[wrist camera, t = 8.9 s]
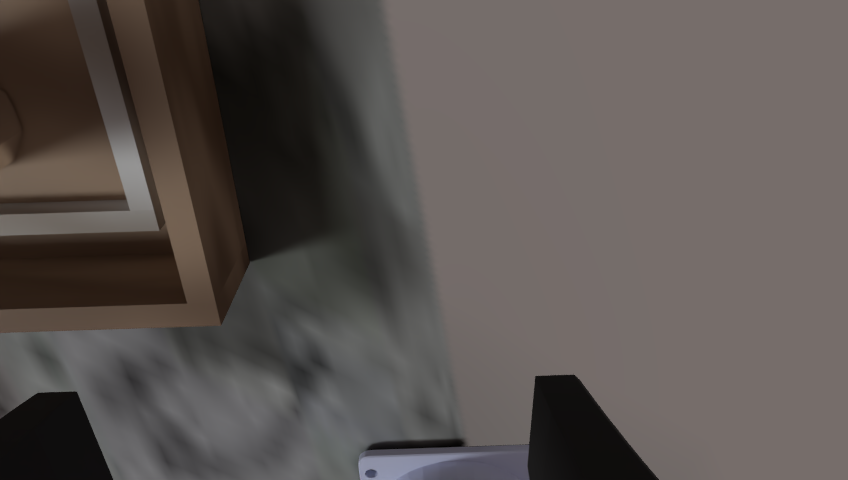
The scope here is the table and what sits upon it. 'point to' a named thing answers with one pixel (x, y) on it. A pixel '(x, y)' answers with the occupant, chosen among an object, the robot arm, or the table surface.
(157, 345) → the table surface
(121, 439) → the table surface
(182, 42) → the socket box
